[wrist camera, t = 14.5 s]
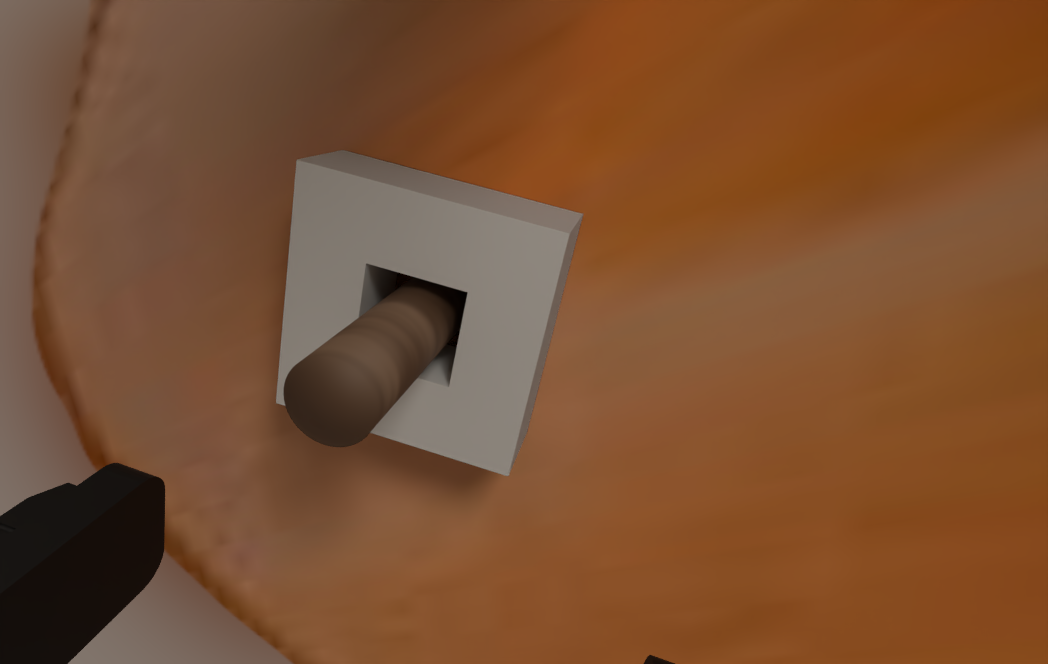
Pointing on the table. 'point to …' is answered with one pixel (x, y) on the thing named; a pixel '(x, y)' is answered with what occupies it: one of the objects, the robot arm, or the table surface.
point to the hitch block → (440, 257)
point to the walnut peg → (372, 362)
